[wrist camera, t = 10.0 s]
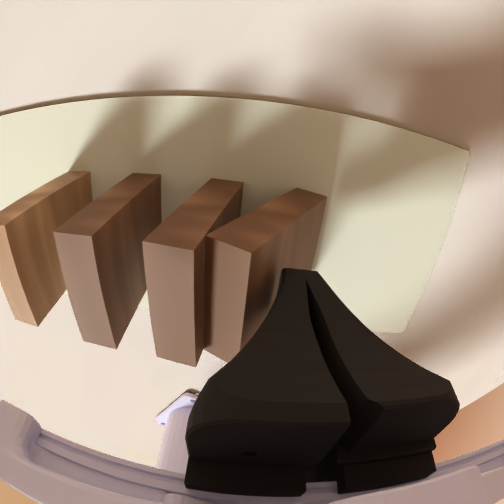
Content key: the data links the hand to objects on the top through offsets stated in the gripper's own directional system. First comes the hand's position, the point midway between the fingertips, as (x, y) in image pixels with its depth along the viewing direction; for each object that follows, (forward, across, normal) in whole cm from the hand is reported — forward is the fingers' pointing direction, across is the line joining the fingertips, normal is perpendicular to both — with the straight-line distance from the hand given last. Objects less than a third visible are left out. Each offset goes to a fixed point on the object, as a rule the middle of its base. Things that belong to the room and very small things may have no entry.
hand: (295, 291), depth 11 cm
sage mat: (+5, +5, 0) cm, 8 cm away
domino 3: (+5, +3, 0) cm, 6 cm away
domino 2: (+5, +8, 0) cm, 9 cm away
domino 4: (+5, -1, 0) cm, 5 cm away
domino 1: (+5, +12, 0) cm, 13 cm away
